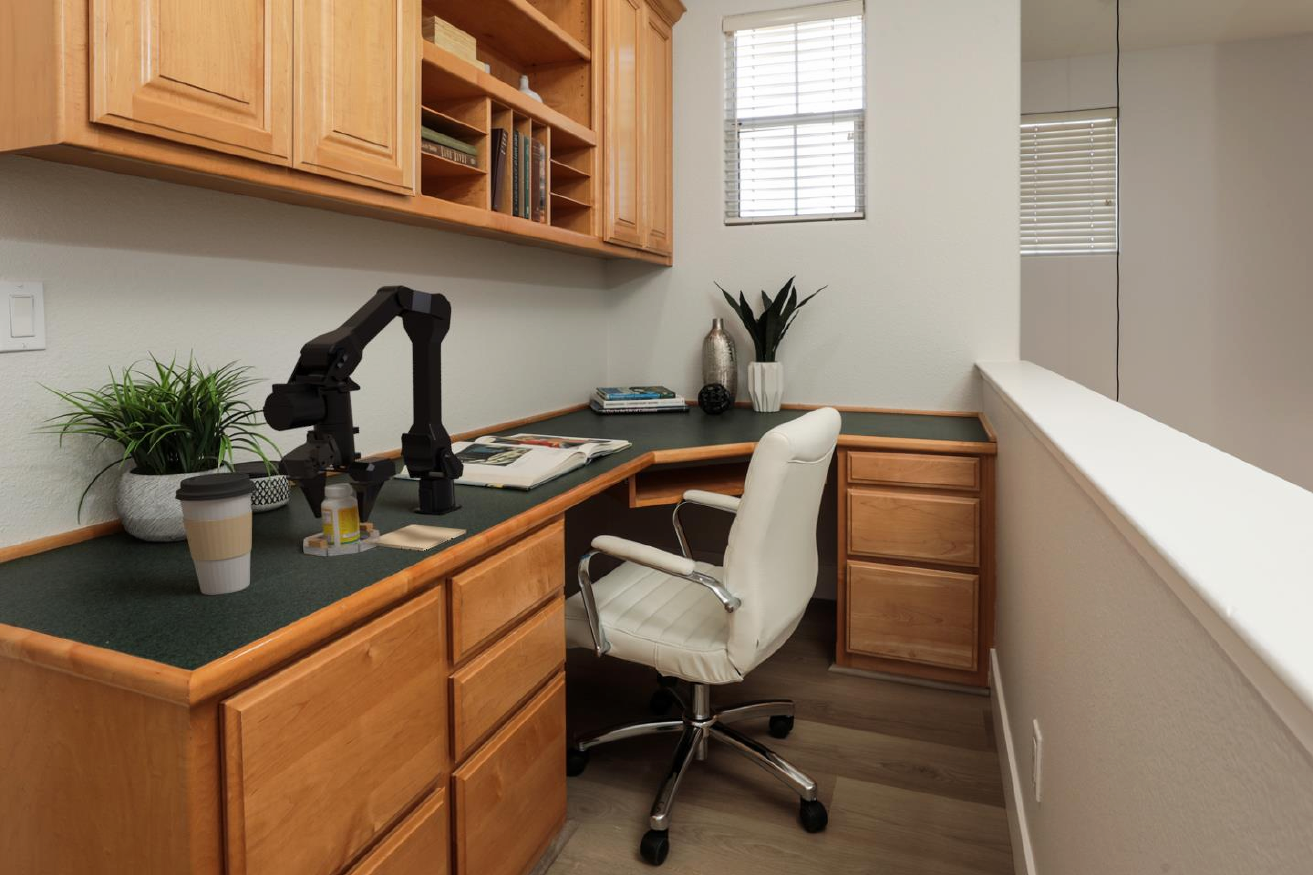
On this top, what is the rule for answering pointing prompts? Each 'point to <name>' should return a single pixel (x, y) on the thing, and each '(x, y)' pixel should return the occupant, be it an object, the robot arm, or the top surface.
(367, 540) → the grey octagonal ring
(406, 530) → the coaster
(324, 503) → the supplement bottle
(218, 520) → the coffee cup
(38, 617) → the top surface
